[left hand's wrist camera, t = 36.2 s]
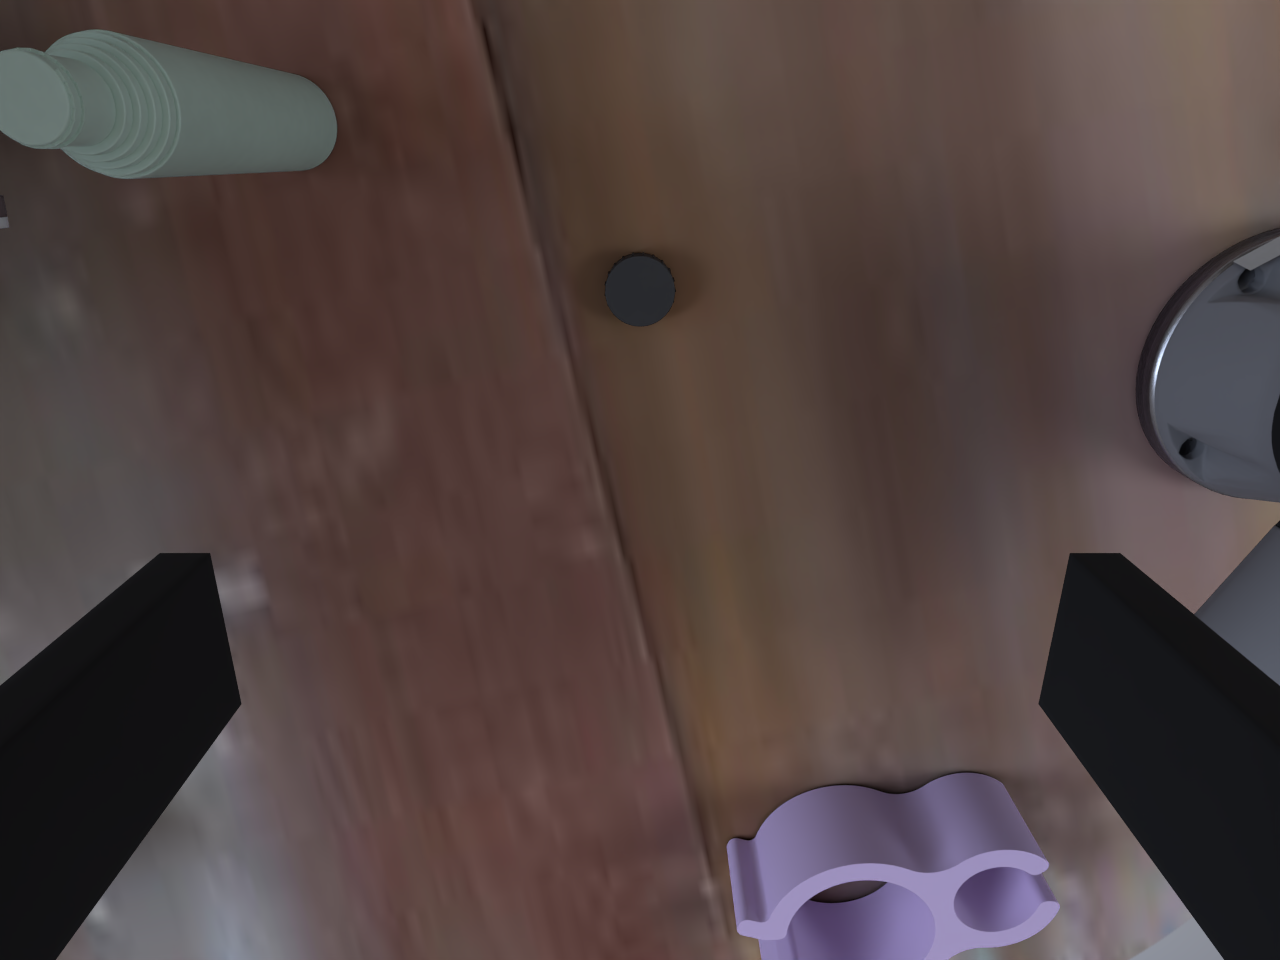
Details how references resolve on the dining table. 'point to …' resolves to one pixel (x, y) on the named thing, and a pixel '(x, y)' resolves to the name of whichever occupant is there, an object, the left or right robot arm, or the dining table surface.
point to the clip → (892, 873)
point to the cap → (640, 289)
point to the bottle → (161, 109)
